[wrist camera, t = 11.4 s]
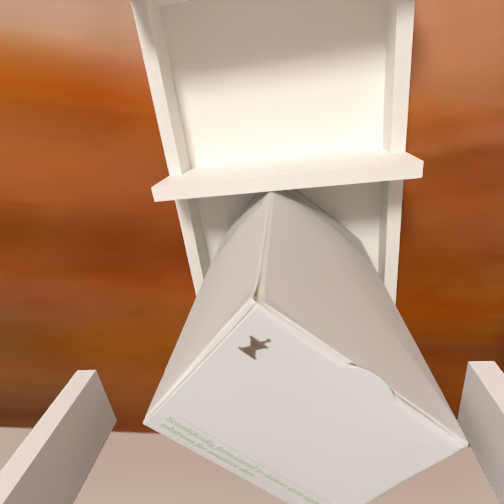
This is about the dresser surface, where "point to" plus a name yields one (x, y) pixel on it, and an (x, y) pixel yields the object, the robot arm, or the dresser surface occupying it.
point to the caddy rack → (282, 113)
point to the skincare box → (302, 365)
